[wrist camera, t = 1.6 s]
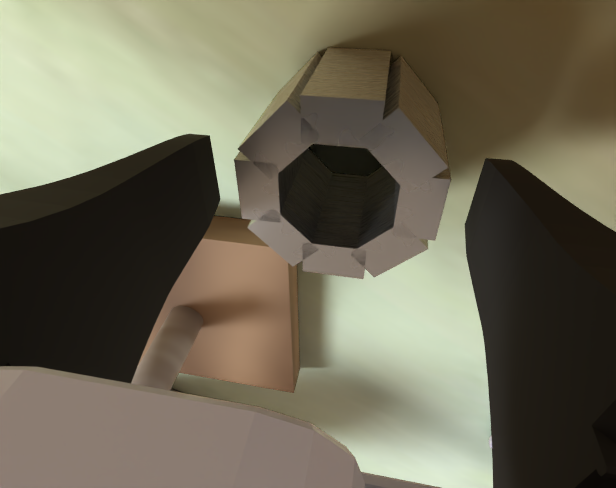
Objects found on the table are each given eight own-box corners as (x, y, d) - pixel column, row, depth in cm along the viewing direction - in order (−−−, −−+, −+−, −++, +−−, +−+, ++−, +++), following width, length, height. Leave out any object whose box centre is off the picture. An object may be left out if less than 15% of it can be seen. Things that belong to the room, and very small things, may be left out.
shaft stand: (295, 225, 16) (256, 334, 12) (299, 368, 22) (274, 472, 18) (71, 199, 17) (-34, 289, 13) (134, 340, 24) (77, 431, 20)
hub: (452, 53, 11) (470, 106, 8) (419, 208, 14) (423, 286, 11) (271, 44, 12) (224, 90, 9) (279, 193, 15) (247, 264, 12)
